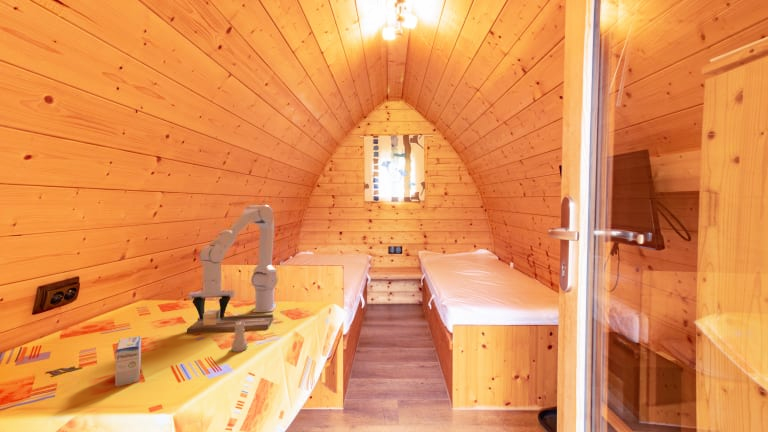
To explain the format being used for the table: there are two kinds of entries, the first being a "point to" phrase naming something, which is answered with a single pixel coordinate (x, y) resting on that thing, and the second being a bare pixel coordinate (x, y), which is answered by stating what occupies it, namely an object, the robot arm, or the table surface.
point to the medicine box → (128, 361)
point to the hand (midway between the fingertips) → (212, 317)
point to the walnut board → (233, 323)
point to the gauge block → (211, 317)
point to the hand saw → (57, 372)
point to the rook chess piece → (239, 337)
